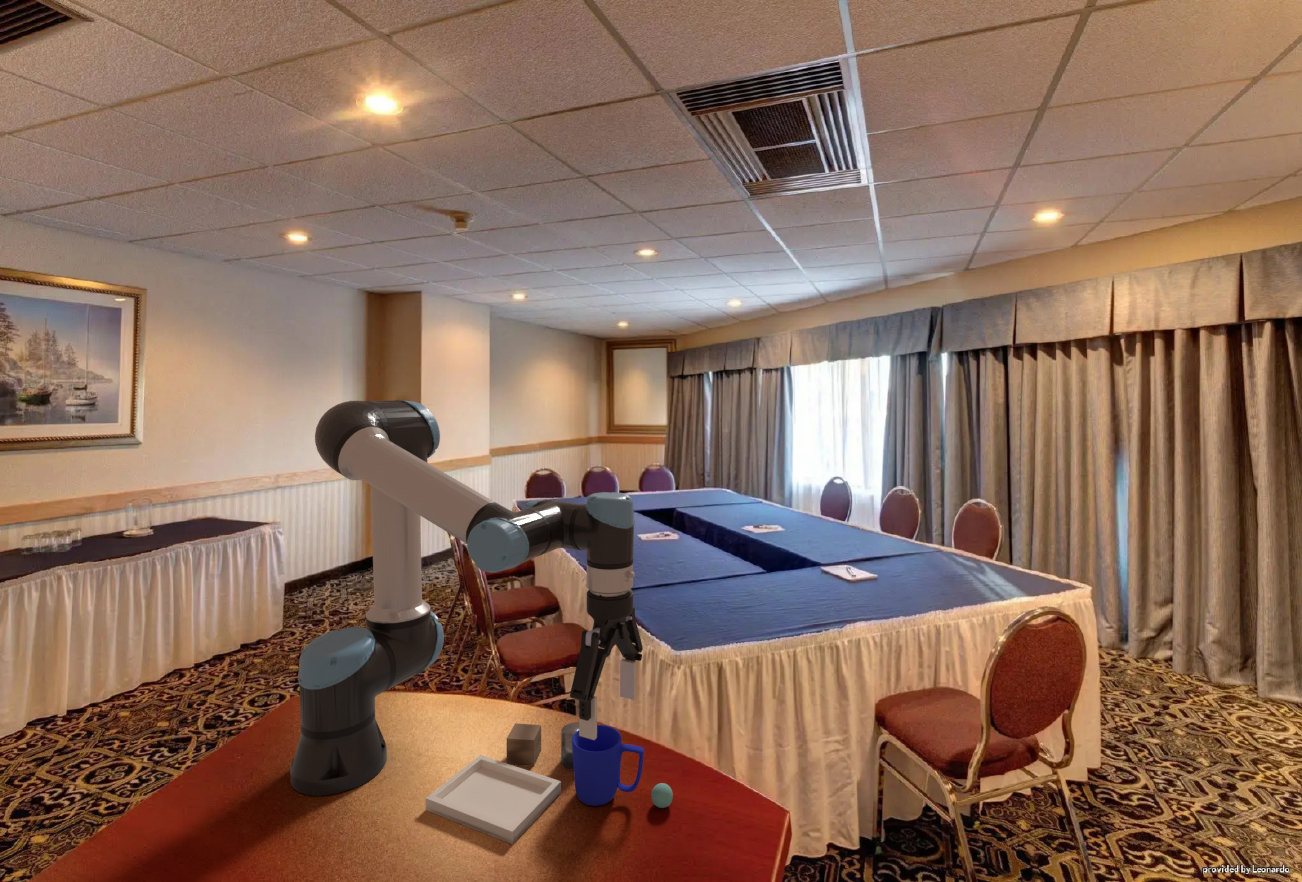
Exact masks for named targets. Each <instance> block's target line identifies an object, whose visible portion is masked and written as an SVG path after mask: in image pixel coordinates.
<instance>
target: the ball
mask: <svg viewBox="0 0 1302 882" xmlns="http://www.w3.org/2000/svg"><path fill="white" fill-rule="evenodd" d="M650 795H651V797H650V798H651V801H652V803H653V805H655V807H657V808H659V809H664V808H667V807H669V806H670V804H671V803H672V802H673V798H674V793H673V790H672V788H671V786H670V785H669V784H667V783H663V782H661V783H658V784H656V785H654V787H653V788H652V790H651V794H650Z"/></svg>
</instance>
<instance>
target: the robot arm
mask: <svg viewBox="0 0 1302 882" xmlns="http://www.w3.org/2000/svg"><path fill="white" fill-rule="evenodd" d="M440 440H441V431H440V427H439V423H438V420H437V419H436V417H435V415H434V413H432V412H431V411H429V408H428V407H426V406H425V405H424V404H422V403H420V402H417V401H414V400H413V401H410V400H400V399H392V400H391V399H389V400H349V401H343V402H341V403H338V404H335V405H334V406H332V407H330V408H329V409H328V410H327V411H326V412H325V413H324V414H323V415H322V416H321V417H320V419H319V421H318V423H317V424H316V427H315V432H314V442H315V443H314V444H315V446H316V447H315V448H316V451H317V453H318V454H319V456H320V457H321V459H322V460H323V461H324V463H326V464H327V466H329V468H331V470H333V471H335V472H336V473H338V474H339V475H341V476H343V477H344V478H346V479H348V480H351V481H361V480H362V481H363V482H364V483H367V484H368V485H370V491H371V492H370V493H371V497H370V498H371V501H370V502H371V528H372V531H371V532H372V533H371V536H372V566H373V567H372V568H373V570H372V571H373V602H374V604H373V605H372V606H371V608H369V609H368V610H367V612H366V614H365V627H360V626H352V627H350V626H349V627H344V628H342V629H341V630H338V629H334V630H332V631H328V632H327V633H324V634H321V635H320V636H318V637H316V638H314V639H313V640H312V641H310V642H309V643H308V644H307V645H306V646H305V647H304V648H303V650H302V651H301V654H300V657H299V661H298V662H299V667H298V674H297V680H298V683H299V709H300V710H299V711H300V712H299V713H300V718H299V719H300V736H299V740H298V743H297V747H296V749H295V753H294V757H293V758H292V761H291V764H290V767H289V768H290V769H289V777H290V780H289V781H290V785H291V787H292V788H293V789H294V790H295V791H297V792H298V793H300V794H303V795H307V796H314V797H315V796H317V797H319V796H329V795H335V794H341V793H345V792H347V791H349V790H353V789H356V788H357V787H360V786H362V785H363V784H366V783H367V782H369V781H370V780H372V779H373V778H375V777H376V776H377V775H378V774H379V773H380V772H381V771H382V770H383V768H384V767H385V765H386V763H387V757H388V756H387V754H388V750H387V744H386V741H385V739H384V736H383V733H382V731H381V728H380V726H379V724H378V721H377V718H376V697H377V696H379V695H380V694H383V693H384V692H386V691H388V690H389V689H392V688H393V687H395V686H397V685H399V684H401V683H402V682H404V681H406V680H408V679H410V678H412V677H416V676H417V675H419V674H421V673H423V672H424V671H425V670H426V669H427V668H429V667H430V666H431V665H433V664H434V663H435V662H436V661H437V660H438V659H439V657H440V655H441V652H442V649H443V646H444V642H445V641H444V640H445V636H444V635H445V634H444V629H443V625H442V623H441V622H439V617H438V616H437V615H436V614H435V613H434V612H433V611H431V605H430V604H429V603H428V602H427V601H425V600H424V599H423V589H422V588H423V587H422V580H423V579H422V577H423V575H422V540H421V539H422V537H421V536H422V535H421V534H422V533H421V529H422V528H421V517H422V518H423V519H425V520H427V521H428V522H430V523H432V524H433V525H434V526H437V527H438V528H439V529H441V530H443V531H445V532H447V533H448V534H449V535H451V536H453V537H455V538H456V539H458V540H460V542H463V543H465V544H466V548H467V553H468V556H469V558H470V559H472V561H473V564H474V565H475V566H476V567H477V568H478V569H479V570H481V571H483V572H485V573H486V572H487V573H491V574H493V573H499V572H502V571H507V570H508V571H509V570H510V569H514V568H517V567H518V566H520V565H521V564H523V563H526V562H528V561H530V560H532V559H536V558H537V557H540V556H543V555H545V554H547V553H548V554H549V552H550V553H551V552H552V551H554V550H557V549H567V550H569V549H570V550H576V551H577V550H578V551H584V552H585V551H586V588H587V591H586V613H587V614H588V615H589V616H590V617H591V618H592V620H593V625H592V629H591V630H586V629H584V630H583V631H582V632H581V640H580V648H579V653H578V658H577V663H576V667H575V671H574V675H573V680H572V685H571V689H570V693H569V697H570V699H573V700H578V721H579V722H578V723H579V736H582V737H585V738H589V739H592V740H595V739H596V738H597V725H598V696H595V694H596V691H597V686H598V684H599V681H600V679H601V675H602V671H603V668H604V666H605V662H606V660H607V657H610V656H611V653H612V650H613V649H614V647H615V646H616V647H617V650H619V652H620V655H621V656H622V658H621V659H620V661H619V664H620V667H619V668H620V671H619V673H620V674H619V697H620V698H625V699H628V700H629V699H630V700H633V701H634V700H636V698H637V661H639V662H641V661H642V659H643V654H642V652H643V650H644V649H643V648H644V647H643V646H644V645H643V644H642V642H643V641H642V639H641V635H640V631H639V628H638V623H637V620H636V609H635V606H634V591H633V590H632V589H633V587H634V578H635V576H636V573H635V571H634V539H635V537H634V536H635V535H634V534H635V531H634V530H635V524H636V522H635V516H634V501H633V498H632V497H631V496H630V495H628V494H626V493H623V492H613V491H612V492H607V491H606V492H605V491H602V492H595V493H592V494H589V495H588V496H587V499H586V504H585V503H583V504H582V503H576V502H567V501H566V502H564V501H556V500H551V499H543V500H542V499H541V500H539V499H533V500H530V501H528V502H526V504H525V506H524V507H522V508H521V510H519V511H516V512H515V511H513V510H511V509H508V508H507V507H505V506H503V505H501V504H499V503H497V502H496V501H493V500H492V499H490V498H489V497H487V496H485V495H484V494H482V493H481V492H479V491H476V490H475V489H473V488H471V487H470V486H468V485H466V484H465V483H464V482H461V481H459V480H458V479H457V478H454V477H452V476H450V475H449V474H448V473H445V472H444V471H442V470H440V469H438V468H437V467H435V466H433V465H432V464H430V463H429V462H428V459H429V458H431V457H432V456H433V455H434V454H435V452H436V450H437V449H438V447H439V445H440V442H441V441H440Z"/></svg>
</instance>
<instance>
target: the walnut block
mask: <svg viewBox="0 0 1302 882" xmlns="http://www.w3.org/2000/svg"><path fill="white" fill-rule="evenodd" d="M541 752H542V724H530V723H514V724H513V727H512V728H511V730H510V732H509V733H508V735H507V737H506V763H507V764H510V765H513V766H521V767H535V765H536V764H537V760H538V759H539V756H540V754H541Z"/></svg>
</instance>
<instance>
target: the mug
mask: <svg viewBox="0 0 1302 882" xmlns="http://www.w3.org/2000/svg"><path fill="white" fill-rule="evenodd" d="M622 740H623V739H622V735H621V733H620V731H619V730H618V729H616V728H614V727H612V726H609V725H605V724H597V738H596V739H595V740H592V739H589V738H585V737H582V736H579V730H578V731H577V732H576V733H575V734H574V735H573V737H572V751H573V764H574V770H573V775H574V776H573V777H574V787H575V790H574V791H575V794H576V796H577V798H578V800H580V802H581V803H583V804H585V805H587V806H593V807H595V806H597V807H598V806H602V805H606V804H608V803H609V802H611V801H612V800H613V798H614V797H615V795H616V793H617V789H619V790H620V791H621V792H623V793H631V792H634V791H635V790H636V789H637V787H638V786H639V784H640V781H641V778H642V773H643V766H644V757H645V748H644V747H643V746H640V745H639V746H638V745H635V744H626V743H623V742H622ZM626 752H627V753H628V752H629V753H635V754H638V757H639V758H638V765H637V773H636V778H635V780H634V782H633V783H632V784H630V785H626V784H624V783H622V782H621V767H622V765H621V764H622V757H623V754H624V753H626Z"/></svg>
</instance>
